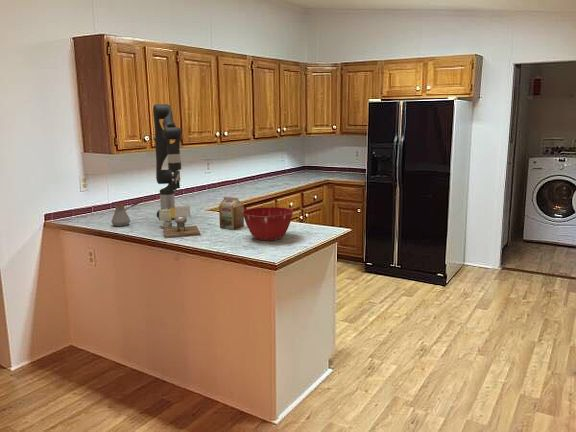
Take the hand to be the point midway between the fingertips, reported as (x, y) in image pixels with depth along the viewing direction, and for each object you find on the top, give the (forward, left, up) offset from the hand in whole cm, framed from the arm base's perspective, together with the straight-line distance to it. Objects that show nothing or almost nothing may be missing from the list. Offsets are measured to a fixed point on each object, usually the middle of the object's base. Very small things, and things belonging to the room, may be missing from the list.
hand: (176, 189), depth 299 cm
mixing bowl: (+34, +47, -26) cm, 64 cm away
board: (+6, +1, -25) cm, 26 cm away
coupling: (+6, +1, -18) cm, 20 cm away
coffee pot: (-29, -29, -26) cm, 48 cm away
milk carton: (+2, +32, -26) cm, 41 cm away
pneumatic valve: (-13, -6, -26) cm, 29 cm away
